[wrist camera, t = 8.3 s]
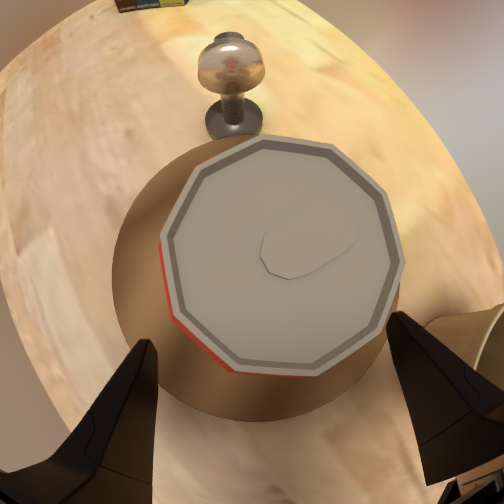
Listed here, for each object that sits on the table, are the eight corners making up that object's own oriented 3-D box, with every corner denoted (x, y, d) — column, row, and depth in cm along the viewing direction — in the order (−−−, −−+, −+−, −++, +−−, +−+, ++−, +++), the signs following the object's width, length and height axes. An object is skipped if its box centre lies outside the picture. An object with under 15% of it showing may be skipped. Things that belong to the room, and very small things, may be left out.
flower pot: (480, 356, 18) (544, 368, 9) (413, 424, 17) (472, 465, 8) (453, 275, 19) (527, 265, 10) (376, 344, 18) (449, 371, 9)
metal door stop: (206, 105, 20) (189, 18, 11) (258, 101, 20) (265, 12, 11) (207, 148, 20) (184, 61, 11) (265, 143, 20) (276, 54, 11)
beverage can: (326, 293, 17) (456, 292, 5) (240, 344, 17) (227, 446, 5) (279, 212, 18) (330, 87, 6) (192, 261, 17) (95, 202, 5)
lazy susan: (432, 255, 19) (439, 254, 18) (275, 458, 16) (276, 465, 15) (241, 100, 20) (240, 93, 19) (73, 289, 18) (66, 288, 17)
